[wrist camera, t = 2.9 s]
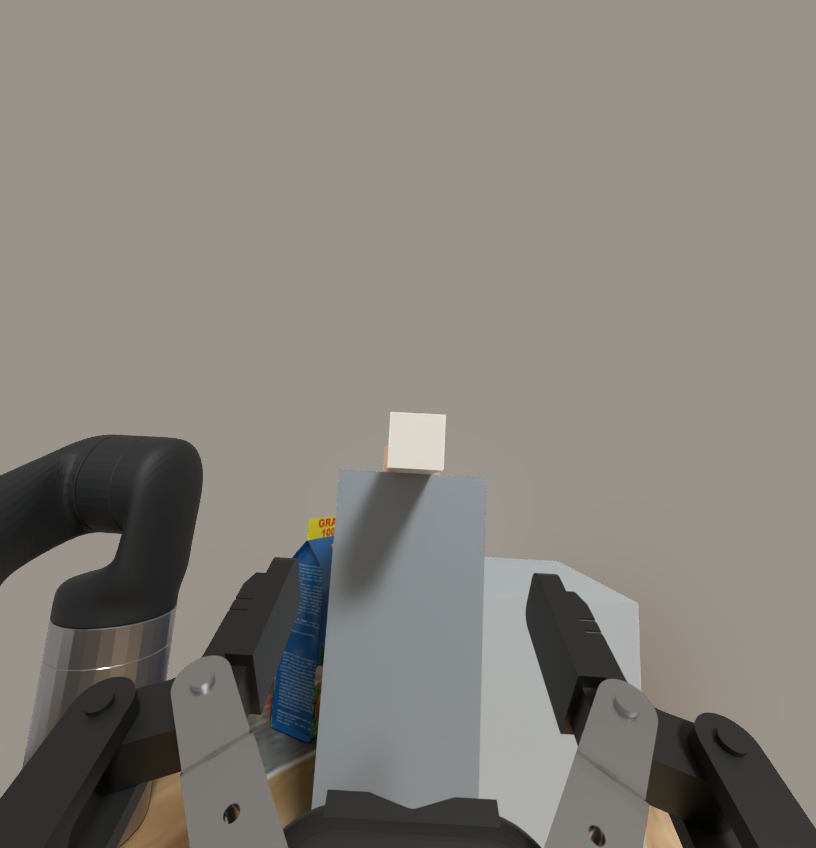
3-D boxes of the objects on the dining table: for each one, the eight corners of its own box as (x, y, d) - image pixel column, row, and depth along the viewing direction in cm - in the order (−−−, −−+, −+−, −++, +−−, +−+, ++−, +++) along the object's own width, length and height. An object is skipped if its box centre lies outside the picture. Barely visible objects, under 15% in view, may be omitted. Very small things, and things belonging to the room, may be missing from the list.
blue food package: (268, 728, 46) (289, 516, 50) (328, 683, 57) (342, 512, 61) (310, 745, 44) (329, 521, 47) (364, 695, 54) (376, 515, 58)
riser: (341, 755, 42) (362, 473, 47) (558, 768, 42) (557, 484, 47) (302, 918, 26) (339, 469, 31) (649, 941, 26) (634, 486, 31)
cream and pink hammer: (385, 474, 44) (387, 448, 44) (437, 477, 44) (438, 451, 44) (359, 465, 20) (363, 410, 21) (471, 472, 20) (473, 416, 21)
